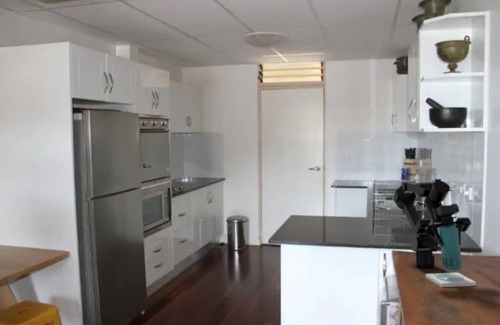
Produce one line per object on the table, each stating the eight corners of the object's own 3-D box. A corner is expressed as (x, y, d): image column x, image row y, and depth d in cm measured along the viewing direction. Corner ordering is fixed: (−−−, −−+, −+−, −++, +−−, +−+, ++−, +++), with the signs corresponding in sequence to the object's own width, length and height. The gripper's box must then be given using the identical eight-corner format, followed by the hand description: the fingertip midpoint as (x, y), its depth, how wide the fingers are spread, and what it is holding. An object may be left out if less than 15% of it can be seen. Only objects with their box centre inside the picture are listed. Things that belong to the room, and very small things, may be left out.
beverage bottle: (462, 269, 153) (456, 214, 153) (463, 275, 147) (457, 218, 146) (442, 269, 156) (436, 215, 155) (443, 275, 150) (437, 218, 149)
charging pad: (425, 277, 157) (425, 273, 157) (457, 275, 158) (457, 272, 158) (441, 287, 145) (441, 283, 145) (475, 285, 146) (475, 281, 146)
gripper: (417, 197, 154) (432, 233, 143) (468, 195, 155) (486, 231, 144) (409, 215, 162) (422, 251, 152) (457, 213, 163) (473, 249, 152)
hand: (451, 245), depth 150 cm, fingers closed on beverage bottle, 6 cm apart
